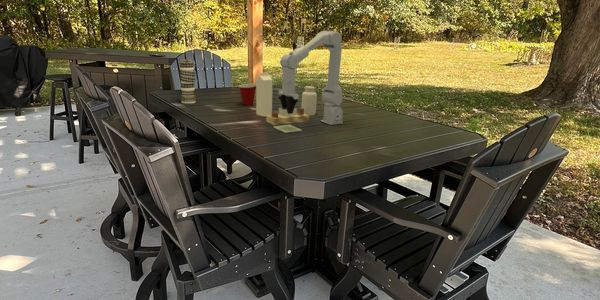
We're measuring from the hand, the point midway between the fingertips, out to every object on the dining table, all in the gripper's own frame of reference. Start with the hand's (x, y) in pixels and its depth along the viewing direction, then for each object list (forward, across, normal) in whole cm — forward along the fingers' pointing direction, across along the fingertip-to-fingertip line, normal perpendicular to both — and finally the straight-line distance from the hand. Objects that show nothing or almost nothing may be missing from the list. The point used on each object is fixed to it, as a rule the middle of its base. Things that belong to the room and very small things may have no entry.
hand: (287, 112), depth 176 cm
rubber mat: (+8, 0, 0) cm, 8 cm away
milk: (+8, -31, +4) cm, 32 cm away
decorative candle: (+8, -81, -21) cm, 84 cm away
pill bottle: (+8, -23, +27) cm, 36 cm away
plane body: (+8, -13, +8) cm, 17 cm away
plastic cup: (+8, -60, +8) cm, 61 cm away
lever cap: (+1, 0, 0) cm, 1 cm away
